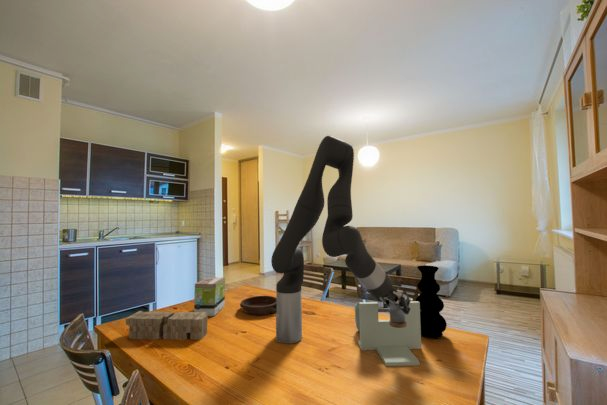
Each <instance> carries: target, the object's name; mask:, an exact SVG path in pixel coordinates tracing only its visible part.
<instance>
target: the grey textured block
mask: <svg viewBox="0 0 607 405" xmlns="http://www.w3.org/2000/svg"><path fill="white" fill-rule="evenodd" d="M125 326H129V327H128V329H129V330H128V339H130V340H160V339H161V338H162V339H163V340H187V339H188V338H189V339H190V340H198V341H199V340H200V341H201V340H203V339H204V338H205V337H206V336H207V335H208V316H207V312H194V311H178V312H175V311H142V310H138V311H137V312H135V313H133V314H131V315H129V316H128V317H126V318H125Z"/></svg>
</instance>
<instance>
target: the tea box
mask: <svg viewBox="0 0 607 405" xmlns="http://www.w3.org/2000/svg"><path fill="white" fill-rule="evenodd" d="M225 293H226V277H225V276H223V277H222V276H221V277H217V276H216V277H213V276H212V277H211V276H210V277H209V276H208V277H205V278H202V279H201V280H199V281H197V282H195V283H194V299H193V300H194V301H193V303H194V305H193V312H207V317H215V316H216V315H217V314H218V313H219V312H220V311H221V310H222V309H224V307H225V306H226V302H225V300H226V294H225Z"/></svg>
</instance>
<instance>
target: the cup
mask: <svg viewBox="0 0 607 405" xmlns="http://www.w3.org/2000/svg"><path fill="white" fill-rule="evenodd" d="M354 319H355V320H354V321H355V326H356V327H355V328H356V329H357V331H358V332H359V333H360V320H359V302H357V303H355V305H354Z"/></svg>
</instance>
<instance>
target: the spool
mask: <svg viewBox="0 0 607 405" xmlns="http://www.w3.org/2000/svg"><path fill="white" fill-rule="evenodd" d="M396 290H397V291H398V292H399V293H403V291H404V290H401V289H396ZM394 301H395V300H394ZM399 303H401V301H399ZM388 308H390V313H389V319H388V320H389V324H390V326H392V327H396V328H403V327H406V326H407V324H406V321H405V313H404V312H403V311H402V310H401V308H400V307H399V306H397V305H394V304H393V303H391V302H390V301H389V307H388Z"/></svg>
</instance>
